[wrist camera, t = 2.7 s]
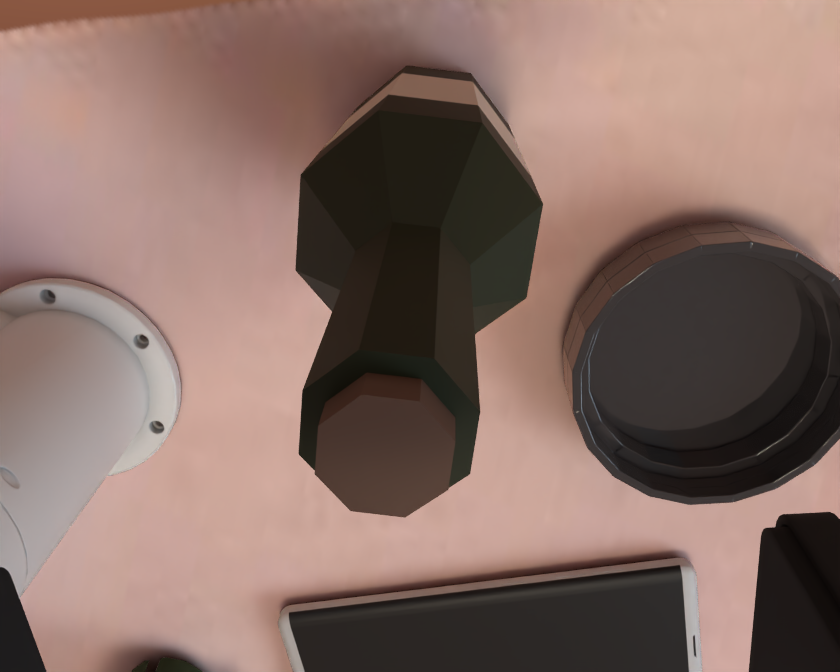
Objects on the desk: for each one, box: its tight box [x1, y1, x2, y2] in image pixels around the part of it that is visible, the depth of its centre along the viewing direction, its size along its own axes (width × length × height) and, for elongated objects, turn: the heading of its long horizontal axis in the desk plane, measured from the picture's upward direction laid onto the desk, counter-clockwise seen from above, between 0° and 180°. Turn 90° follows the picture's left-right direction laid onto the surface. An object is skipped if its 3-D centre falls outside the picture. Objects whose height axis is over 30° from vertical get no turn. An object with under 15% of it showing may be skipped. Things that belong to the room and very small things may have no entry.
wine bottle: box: [296, 66, 543, 517], centre depth 27 cm, size 8×8×30 cm
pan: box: [563, 222, 840, 505], centre depth 43 cm, size 15×15×4 cm
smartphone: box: [278, 558, 702, 672], centre depth 54 cm, size 13×27×2 cm, turn 101°
